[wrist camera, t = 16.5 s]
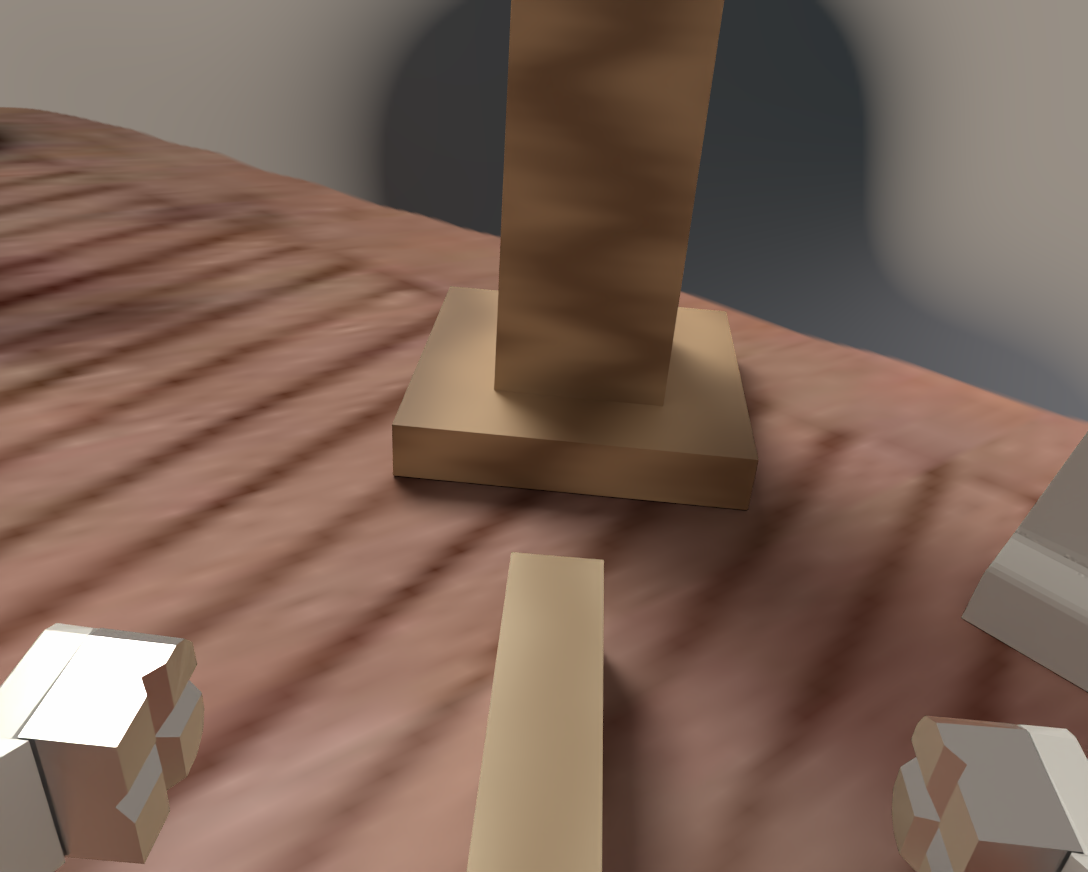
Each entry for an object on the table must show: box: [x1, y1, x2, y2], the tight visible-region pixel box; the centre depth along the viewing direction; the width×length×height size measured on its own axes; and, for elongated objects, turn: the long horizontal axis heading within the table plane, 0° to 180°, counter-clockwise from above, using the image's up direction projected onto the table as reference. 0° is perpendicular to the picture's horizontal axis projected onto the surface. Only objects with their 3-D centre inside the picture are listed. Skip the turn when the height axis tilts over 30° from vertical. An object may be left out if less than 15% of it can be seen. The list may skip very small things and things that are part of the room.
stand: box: [392, 0, 758, 510], centre depth 31 cm, size 12×12×26 cm
